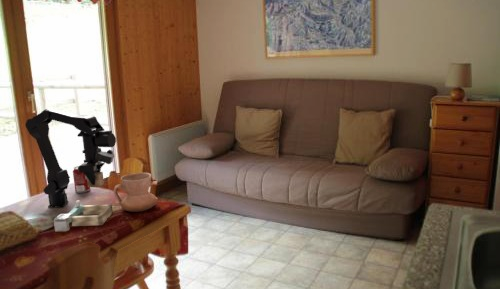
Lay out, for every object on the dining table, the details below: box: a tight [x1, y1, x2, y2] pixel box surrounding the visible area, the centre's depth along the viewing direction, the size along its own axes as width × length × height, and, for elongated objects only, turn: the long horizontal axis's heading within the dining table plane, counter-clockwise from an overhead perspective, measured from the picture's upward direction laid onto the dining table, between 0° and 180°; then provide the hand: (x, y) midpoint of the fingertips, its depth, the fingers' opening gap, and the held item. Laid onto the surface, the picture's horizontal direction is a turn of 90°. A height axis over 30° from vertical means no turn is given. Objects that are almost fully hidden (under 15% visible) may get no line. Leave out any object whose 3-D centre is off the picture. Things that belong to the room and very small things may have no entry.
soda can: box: [72, 165, 91, 194], centre depth 201 cm, size 7×7×12 cm
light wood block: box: [87, 171, 105, 188], centre depth 177 cm, size 5×5×5 cm
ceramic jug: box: [113, 172, 158, 213], centre depth 176 cm, size 18×14×14 cm
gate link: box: [67, 199, 84, 224], centre depth 167 cm, size 17×4×5 cm, turn 0°
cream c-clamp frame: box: [71, 203, 114, 227], centre depth 167 cm, size 12×13×4 cm
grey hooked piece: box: [53, 212, 84, 232], centre depth 166 cm, size 5×20×5 cm, turn 0°
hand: (95, 182), depth 177 cm, fingers closed on light wood block, 5 cm apart
